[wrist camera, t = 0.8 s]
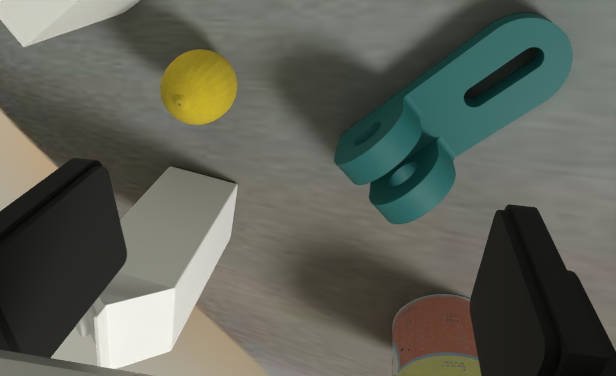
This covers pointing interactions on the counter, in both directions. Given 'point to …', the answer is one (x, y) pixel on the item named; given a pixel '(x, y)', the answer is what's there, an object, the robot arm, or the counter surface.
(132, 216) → the milk carton
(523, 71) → the bracket
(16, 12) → the ticket dispenser
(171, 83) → the lemon
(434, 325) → the canned food
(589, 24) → the counter surface
